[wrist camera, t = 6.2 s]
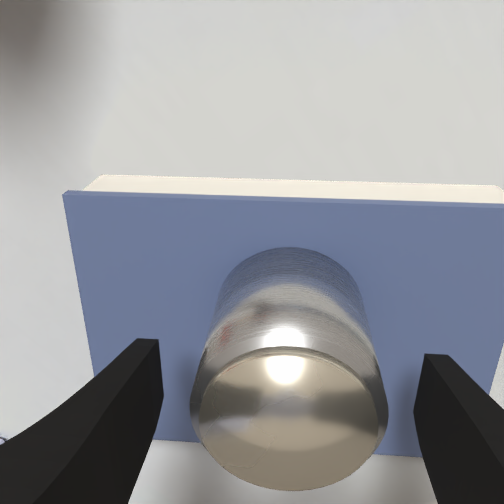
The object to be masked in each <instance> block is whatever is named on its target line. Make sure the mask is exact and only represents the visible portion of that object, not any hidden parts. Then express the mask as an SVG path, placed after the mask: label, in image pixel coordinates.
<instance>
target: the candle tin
mask: <svg viewBox="0 0 504 504" xmlns="http://www.w3.org/2000/svg"><path fill="white" fill-rule="evenodd" d="M189 408H190V418H191V422H192V426H193V428H194V430H195V433H196V435H197V437H198V438H199V440H200V441H201V443H202V444H203V446H204V447H205V448H206V449H207V451H208V452H209V453H210V454H211V455H212V457H213V458H214V459H215V460H216V461H217V462H218V463H219V464H220V465H221V466H222V467H223V468H225V469H226V470H227V471H229V472H230V473H231V474H233V475H235V476H236V477H238V478H240V479H242V480H244V481H247V482H249V483H252V484H254V485H257V486H261V487H265V488H269V489H275V490H284V491H303V490H311V489H316V488H321V487H324V486H328V485H331V484H333V483H336V482H338V481H340V480H342V479H344V478H346V477H347V476H349V475H351V474H352V473H353V472H355V471H356V470H357V469H358V468H359V467H360V466H361V465H363V464H364V463H365V461H366V460H367V459H368V458H369V457H370V456H371V455H372V454H373V453H374V452H375V450H376V449H377V448H378V446H379V445H380V443H381V441H382V439H383V437H384V435H385V432H386V429H387V425H388V418H389V409H388V402H387V397H386V393H385V389H384V385H383V381H382V377H381V373H380V369H379V364H378V360H377V356H376V352H375V348H374V344H373V340H372V336H371V332H370V328H369V323H368V319H367V315H366V311H365V307H364V303H363V299H362V295H361V292H360V290H359V287H358V285H357V283H356V282H355V280H354V278H353V277H352V276H351V275H350V273H349V272H348V271H347V270H346V269H345V268H344V267H343V266H342V265H340V264H339V263H338V262H336V261H335V260H333V259H332V258H330V257H328V256H326V255H324V254H322V253H319V252H317V251H313V250H310V249H305V248H298V247H280V248H273V249H268V250H265V251H262V252H259V253H256V254H254V255H252V256H250V257H248V258H247V259H245V260H244V261H242V262H241V263H239V264H238V265H237V266H236V267H235V268H234V269H233V270H232V271H231V272H230V273H229V275H228V276H227V277H226V279H225V281H224V282H223V284H222V286H221V289H220V291H219V295H218V299H217V302H216V306H215V309H214V313H213V316H212V320H211V324H210V327H209V331H208V334H207V338H206V342H205V345H204V349H203V352H202V356H201V359H200V363H199V367H198V370H197V374H196V377H195V381H194V384H193V388H192V392H191V395H190V404H189Z"/></svg>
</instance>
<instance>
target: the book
mask: <svg viewBox="0 0 504 504" xmlns="http://www.w3.org/2000/svg"><path fill="white" fill-rule="evenodd" d="M62 196H63V202H64V208H65V213H66V219H67V225H68V230H69V236H70V241H71V247H72V253H73V258H74V264H75V270H76V275H77V281H78V287H79V292H80V298H81V304H82V309H83V315H84V321H85V326H86V332H87V338H88V343H89V349H90V355H91V360H92V366H93V372H94V377H95V376H96V375H97V374H98V373H100V372H101V371H102V370H103V369H104V368H105V367H106V366H107V365H108V364H109V363H111V362H112V361H113V360H114V359H115V358H116V357H117V356H118V355H119V354H120V353H121V352H122V351H123V350H124V349H126V348H127V347H128V346H129V345H130V344H131V343H132V342H133V341H134V340H136V339H137V338H145V339H159V348H160V359H161V369H162V379H163V390H164V399H163V403H162V408H161V412H160V416H159V420H158V424H157V428H156V431H155V434H154V437H153V439H155V440H170V441H185V442H200V443H201V441H200V440H199V438H198V437H197V435H196V433H195V430H194V428H193V426H192V422H191V418H190V408H189V404H190V395H191V392H192V388H193V384H194V381H195V377H196V374H197V370H198V367H199V363H200V359H201V356H202V352H203V349H204V345H205V342H206V338H207V334H208V331H209V327H210V324H211V320H212V316H213V313H214V309H215V306H216V302H217V299H218V295H219V291H220V289H221V286H222V284H223V282H224V281H225V279H226V277H227V276H228V275H229V273H230V272H231V271H232V270H233V269H234V268H235V267H236V266H237V265H238V264H239V263H241V262H242V261H244V260H245V259H247V258H248V257H250V256H252V255H254V254H256V253H259V252H262V251H265V250H268V249H273V248H280V247H298V248H305V249H310V250H313V251H317V252H319V253H322V254H324V255H326V256H328V257H330V258H332V259H333V260H335V261H336V262H338V263H339V264H340V265H342V266H343V267H344V268H345V269H346V270H347V271H348V272H349V273H350V275H351V276H352V277H353V278H354V280H355V282H356V283H357V285H358V287H359V290H360V292H361V295H362V299H363V303H364V307H365V311H366V315H367V319H368V323H369V328H370V332H371V336H372V340H373V344H374V348H375V352H376V356H377V360H378V364H379V369H380V373H381V377H382V381H383V385H384V389H385V393H386V397H387V402H388V409H389V418H388V425H387V429H386V432H385V435H384V437H383V439H382V441H381V443H380V445H379V446H378V448H377V449H376V450H375V452H374V453H373V454H380V455H395V456H410V457H423V456H422V453H421V450H420V446H419V441H418V437H417V432H416V426H415V421H414V415H413V409H414V404H415V399H416V394H417V389H418V384H419V379H420V374H421V369H422V364H423V359H424V354H425V353H426V354H445V355H449V356H450V357H451V358H452V359H453V360H454V361H455V362H456V363H457V364H458V365H459V366H460V367H461V368H462V369H463V370H464V371H465V372H466V373H467V374H468V375H469V376H470V377H471V378H472V379H473V380H474V381H475V382H476V383H477V384H478V385H479V386H480V387H481V388H482V389H483V390H484V391H485V392H486V393H487V394H488V395H489V392H490V389H491V385H492V382H493V378H494V375H495V371H496V368H497V364H498V361H499V357H500V354H501V350H502V347H503V343H504V191H503V190H502V189H500V188H499V187H498V186H494V185H458V184H422V183H386V182H350V181H314V180H278V179H242V178H206V177H170V176H134V175H100V176H99V177H98V178H97V179H95V180H94V181H93V182H92V183H90V184H89V185H88V186H87V187H86V188H84V189H83V190H82V191H69V190H68V191H66V192H65V193H64V194H62Z"/></svg>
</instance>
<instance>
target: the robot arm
mask: <svg viewBox="0 0 504 504" xmlns="http://www.w3.org/2000/svg"><path fill="white" fill-rule="evenodd" d="M163 399H164V390H163V379H162V369H161V359H160V348H159V339H145V338H137V339H136V340H134V341H133V342H132V343H131V344H130V345H129V346H128V347H127V348H126V349H124V350H123V351H122V352H121V353H120V354H119V355H118V356H117V357H116V358H115V359H114V360H113V361H112V362H111V363H109V364H108V365H107V366H106V367H105V368H104V369H103V370H102V371H101V372H100V373H98V374H97V375H96V376H95V377H94V378H93V379H92V380H90V381H89V382H88V383H87V384H86V385H85V386H84V387H82V388H81V389H80V390H79V391H78V392H76V393H75V394H74V395H73V396H71V397H70V398H69V399H68V400H66V401H65V402H64V403H63V404H61V405H60V406H59V407H57V408H56V409H55V410H53V411H52V412H51V413H49V414H48V415H47V416H45V417H44V418H42V419H41V420H39V421H38V422H36V423H35V424H33V425H32V426H30V427H29V428H27V429H26V430H24V431H23V432H21V433H20V434H18V435H16V436H14V437H13V438H11V439H9V440H8V441H6V442H5V441H4V440H3V439H1V438H0V504H128V502H129V499H130V497H131V494H132V491H133V489H134V486H135V484H136V481H137V478H138V476H139V473H140V471H141V468H142V465H143V463H144V460H145V458H146V455H147V452H148V450H149V447H150V445H151V442H152V439H153V437H154V434H155V431H156V428H157V424H158V420H159V416H160V412H161V408H162V403H163ZM413 415H414V421H415V426H416V432H417V437H418V441H419V446H420V450H421V453H422V456H423V460H424V463H425V466H426V469H427V472H428V475H429V478H430V481H431V484H432V487H433V490H434V493H435V496H436V499H437V502H438V504H504V409H503V408H502V407H500V406H499V405H498V404H497V403H496V402H495V401H494V400H493V399H492V398H491V397H490V396H489V395H488V394H487V393H486V392H485V391H484V390H483V389H482V388H481V387H480V386H479V385H478V384H477V383H476V382H475V381H474V380H473V379H472V378H471V377H470V376H469V375H468V374H467V373H466V372H465V371H464V370H463V369H462V368H461V367H460V366H459V365H458V364H457V363H456V362H455V361H454V360H453V359H452V358H451V357H450V356H449V355H445V354H426V353H425V354H424V359H423V364H422V369H421V374H420V379H419V384H418V389H417V394H416V399H415V404H414V409H413Z"/></svg>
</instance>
